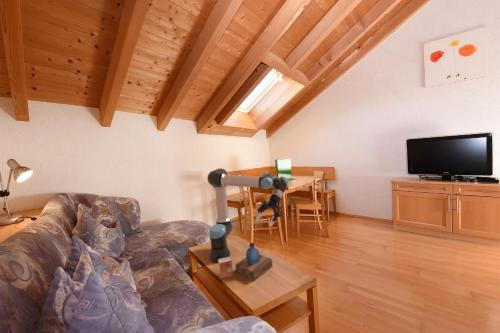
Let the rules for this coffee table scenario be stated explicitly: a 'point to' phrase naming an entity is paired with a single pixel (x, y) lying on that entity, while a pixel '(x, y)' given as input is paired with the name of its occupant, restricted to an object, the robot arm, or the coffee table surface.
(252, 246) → the perfume bottle
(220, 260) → the small box
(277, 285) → the coffee table surface
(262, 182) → the robot arm
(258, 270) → the walnut riser block
